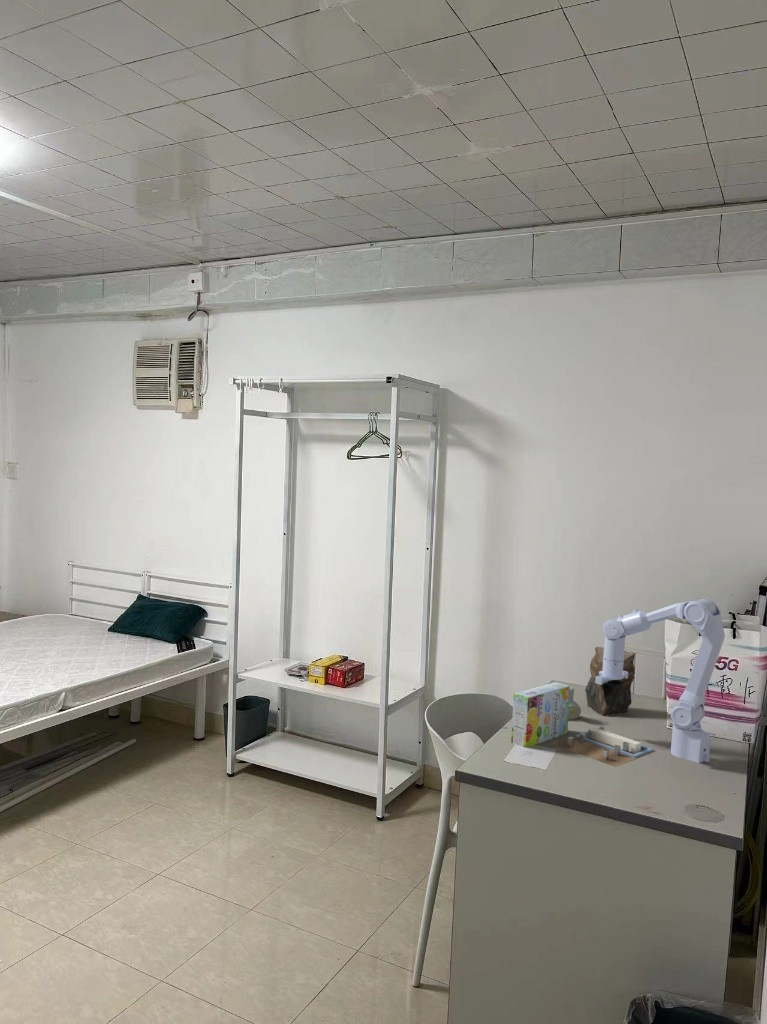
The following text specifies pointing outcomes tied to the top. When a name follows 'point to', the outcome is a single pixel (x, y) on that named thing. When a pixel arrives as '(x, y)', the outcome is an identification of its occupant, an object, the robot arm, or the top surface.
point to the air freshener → (573, 706)
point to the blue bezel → (620, 750)
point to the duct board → (597, 751)
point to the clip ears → (605, 751)
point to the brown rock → (596, 692)
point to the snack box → (540, 714)
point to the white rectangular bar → (615, 739)
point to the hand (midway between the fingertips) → (610, 705)
